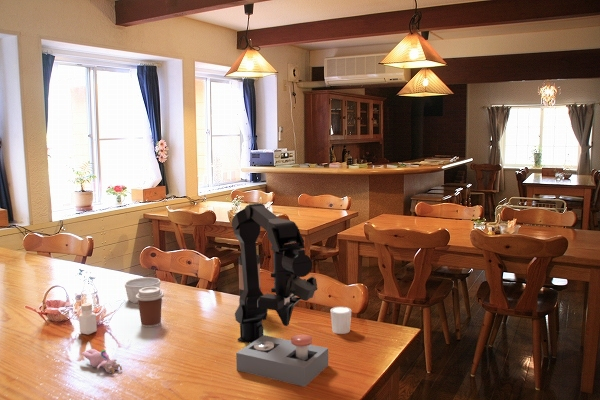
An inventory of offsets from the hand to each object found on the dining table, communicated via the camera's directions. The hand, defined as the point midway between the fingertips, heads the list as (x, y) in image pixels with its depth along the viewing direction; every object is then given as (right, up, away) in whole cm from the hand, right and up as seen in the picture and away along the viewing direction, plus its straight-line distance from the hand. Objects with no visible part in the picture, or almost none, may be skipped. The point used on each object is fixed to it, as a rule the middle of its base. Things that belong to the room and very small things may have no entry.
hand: (286, 325), depth 148 cm
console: (-1, -12, +3) cm, 13 cm away
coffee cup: (-47, -8, +38) cm, 61 cm away
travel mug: (-14, -6, +49) cm, 52 cm away
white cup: (+17, -9, +29) cm, 35 cm away
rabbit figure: (-52, -13, +5) cm, 54 cm away
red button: (+4, -9, -1) cm, 10 cm away
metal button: (-6, -12, +6) cm, 15 cm away
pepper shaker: (-65, -10, +31) cm, 73 cm away
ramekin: (-57, -5, +65) cm, 86 cm away
